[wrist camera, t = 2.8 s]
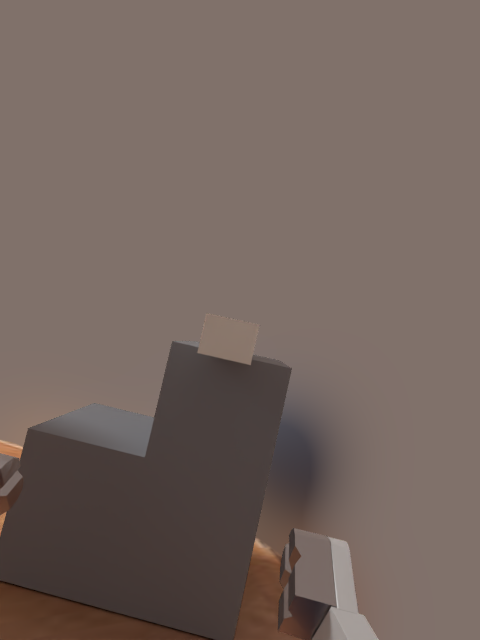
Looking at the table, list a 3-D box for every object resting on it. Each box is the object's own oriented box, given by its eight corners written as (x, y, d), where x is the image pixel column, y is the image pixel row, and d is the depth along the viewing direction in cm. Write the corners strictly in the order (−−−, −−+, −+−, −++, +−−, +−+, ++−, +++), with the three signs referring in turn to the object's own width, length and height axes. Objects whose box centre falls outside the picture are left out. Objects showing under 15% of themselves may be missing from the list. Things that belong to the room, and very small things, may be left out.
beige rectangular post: (197, 352, 25) (206, 312, 25) (223, 348, 46) (228, 326, 46) (250, 365, 25) (259, 324, 25) (252, 354, 46) (256, 332, 46)
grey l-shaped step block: (-11, 577, 33) (57, 314, 34) (68, 507, 47) (114, 322, 48) (232, 644, 31) (291, 368, 33) (238, 551, 45) (280, 360, 47)
